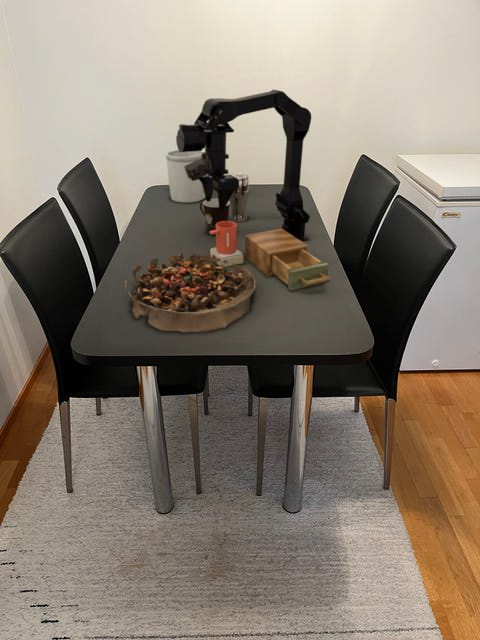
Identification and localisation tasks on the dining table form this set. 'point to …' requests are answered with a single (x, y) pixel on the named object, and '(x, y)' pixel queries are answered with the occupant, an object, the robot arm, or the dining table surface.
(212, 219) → the coffee mug
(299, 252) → the drawer
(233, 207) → the beer glass
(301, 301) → the dining table surface
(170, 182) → the utensil holder
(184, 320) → the food dish
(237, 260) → the kitchen scale
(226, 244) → the red mug
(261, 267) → the cabinet
